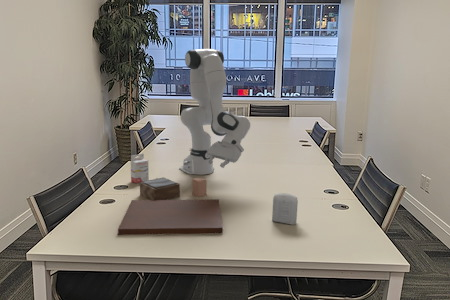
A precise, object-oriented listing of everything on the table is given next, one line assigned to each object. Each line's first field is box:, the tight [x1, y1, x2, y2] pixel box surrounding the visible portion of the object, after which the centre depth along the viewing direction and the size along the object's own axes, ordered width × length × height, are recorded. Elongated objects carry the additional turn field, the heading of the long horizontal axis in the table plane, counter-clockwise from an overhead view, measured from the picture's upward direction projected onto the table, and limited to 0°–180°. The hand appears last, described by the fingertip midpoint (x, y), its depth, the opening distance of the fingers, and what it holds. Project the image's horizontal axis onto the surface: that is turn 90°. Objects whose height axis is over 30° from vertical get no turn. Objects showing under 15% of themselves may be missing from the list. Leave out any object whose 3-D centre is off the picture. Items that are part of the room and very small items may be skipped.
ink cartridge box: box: [130, 153, 150, 184], centre depth 224 cm, size 9×5×15 cm, turn 135°
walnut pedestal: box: [139, 176, 181, 200], centre depth 201 cm, size 14×14×7 cm
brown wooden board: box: [117, 198, 224, 236], centre depth 174 cm, size 40×3×33 cm
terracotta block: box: [191, 177, 208, 198], centre depth 203 cm, size 5×5×8 cm
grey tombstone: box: [271, 192, 299, 225], centre depth 169 cm, size 10×4×12 cm, turn 69°
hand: (215, 165), depth 207 cm, fingers open, 8 cm apart
